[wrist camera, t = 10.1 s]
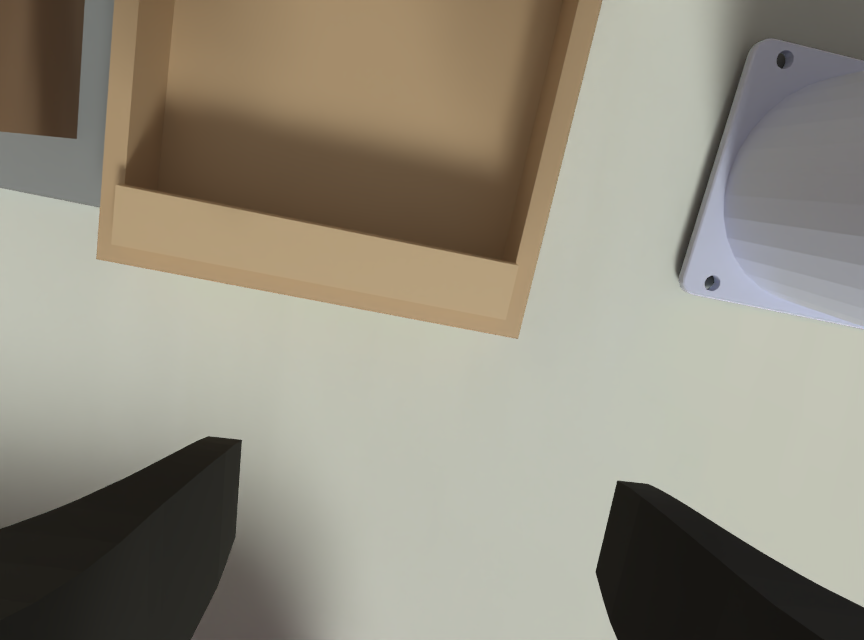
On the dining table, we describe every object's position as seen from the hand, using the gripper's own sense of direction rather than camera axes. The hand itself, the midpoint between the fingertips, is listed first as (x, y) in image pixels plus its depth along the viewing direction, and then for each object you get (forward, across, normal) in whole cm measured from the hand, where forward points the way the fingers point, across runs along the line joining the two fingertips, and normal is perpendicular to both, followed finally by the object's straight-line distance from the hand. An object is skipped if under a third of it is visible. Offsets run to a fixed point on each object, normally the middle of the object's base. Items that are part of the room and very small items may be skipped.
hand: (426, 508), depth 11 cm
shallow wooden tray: (+9, +3, -9) cm, 13 cm away
